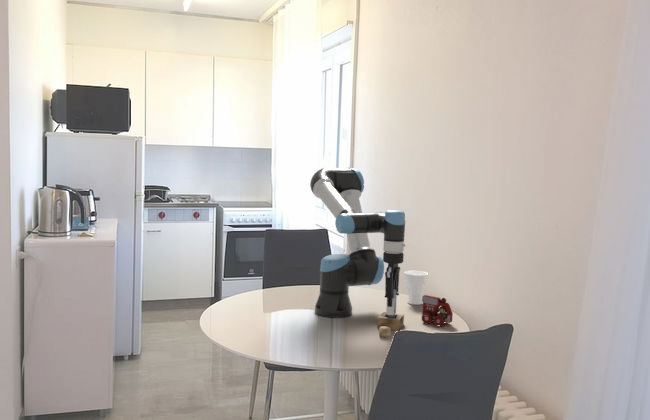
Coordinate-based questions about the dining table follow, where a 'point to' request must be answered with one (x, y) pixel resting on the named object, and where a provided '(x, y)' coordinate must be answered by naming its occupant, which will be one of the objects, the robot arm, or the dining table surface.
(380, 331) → the loose oak bead
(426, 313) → the toy fire truck
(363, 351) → the dining table surface
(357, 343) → the dining table surface
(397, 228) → the robot arm
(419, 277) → the cup
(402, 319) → the wooden block with hole
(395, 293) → the blue rectangular block
